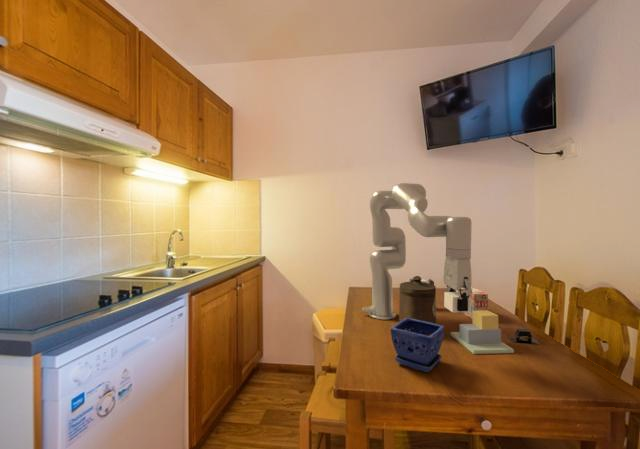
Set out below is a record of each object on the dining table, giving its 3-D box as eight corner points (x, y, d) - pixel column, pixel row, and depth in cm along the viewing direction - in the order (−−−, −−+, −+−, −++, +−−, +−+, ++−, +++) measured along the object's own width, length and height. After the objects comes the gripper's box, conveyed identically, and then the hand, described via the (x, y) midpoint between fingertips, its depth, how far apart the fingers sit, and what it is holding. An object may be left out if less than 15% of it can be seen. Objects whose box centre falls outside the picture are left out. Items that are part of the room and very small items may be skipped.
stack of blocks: (452, 306, 150) (452, 283, 150) (464, 306, 150) (463, 283, 150) (474, 320, 129) (474, 293, 129) (488, 320, 129) (488, 293, 129)
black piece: (538, 340, 108) (538, 328, 108) (548, 348, 101) (548, 335, 101) (501, 336, 112) (501, 325, 112) (508, 344, 105) (508, 332, 105)
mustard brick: (481, 329, 102) (481, 315, 102) (472, 323, 108) (472, 310, 108) (498, 329, 102) (498, 315, 102) (488, 323, 108) (487, 310, 108)
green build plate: (473, 353, 97) (473, 350, 97) (450, 335, 113) (450, 332, 113) (513, 352, 97) (513, 349, 97) (485, 334, 113) (485, 331, 113)
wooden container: (443, 332, 116) (443, 278, 116) (410, 336, 113) (410, 280, 112) (423, 320, 130) (422, 272, 130) (393, 323, 127) (392, 274, 127)
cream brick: (452, 312, 92) (452, 297, 92) (444, 306, 98) (444, 292, 98) (470, 312, 92) (471, 297, 92) (461, 306, 98) (461, 291, 98)
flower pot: (406, 350, 100) (406, 316, 100) (445, 361, 92) (445, 324, 92) (389, 364, 90) (389, 327, 90) (432, 379, 82) (432, 338, 82)
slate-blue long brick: (468, 344, 102) (468, 330, 102) (459, 337, 108) (459, 324, 108) (501, 343, 102) (501, 329, 102) (490, 336, 108) (490, 323, 108)
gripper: (435, 250, 103) (434, 299, 104) (460, 258, 86) (459, 317, 86) (456, 250, 103) (455, 299, 104) (485, 257, 86) (483, 316, 87)
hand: (457, 306), depth 95 cm, fingers closed on cream brick, 6 cm apart
